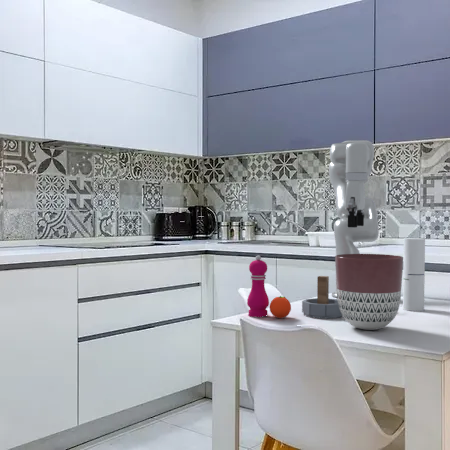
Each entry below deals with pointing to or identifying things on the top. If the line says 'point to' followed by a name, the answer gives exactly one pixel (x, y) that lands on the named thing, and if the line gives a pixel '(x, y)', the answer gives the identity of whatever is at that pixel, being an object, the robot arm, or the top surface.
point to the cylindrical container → (413, 274)
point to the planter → (368, 288)
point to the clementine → (280, 307)
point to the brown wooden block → (322, 289)
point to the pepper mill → (258, 289)
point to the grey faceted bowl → (321, 309)
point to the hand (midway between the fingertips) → (355, 226)
